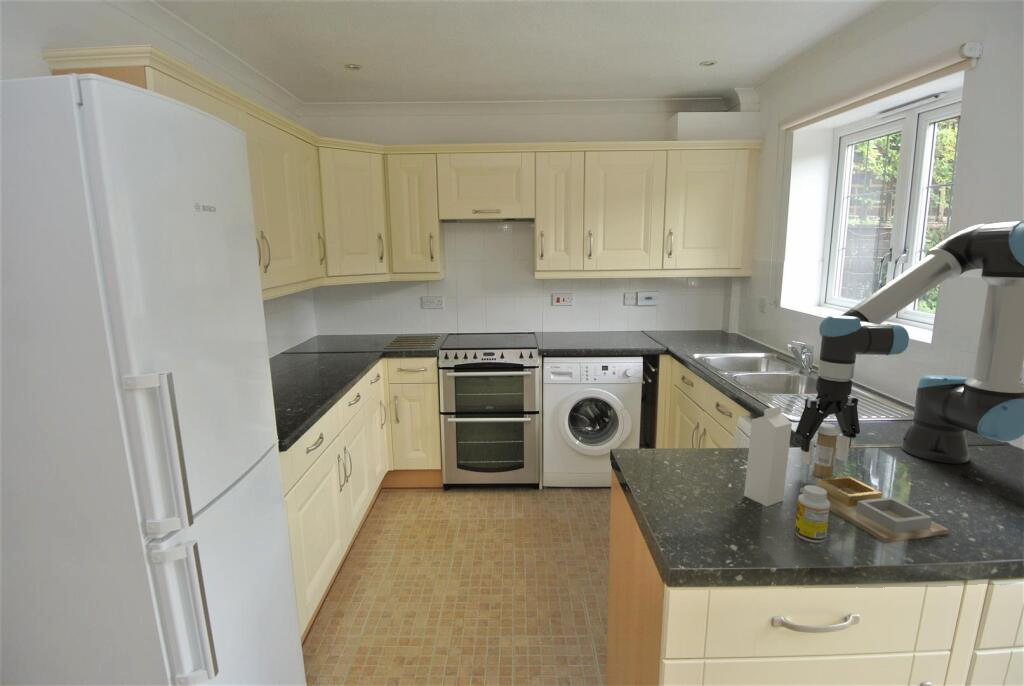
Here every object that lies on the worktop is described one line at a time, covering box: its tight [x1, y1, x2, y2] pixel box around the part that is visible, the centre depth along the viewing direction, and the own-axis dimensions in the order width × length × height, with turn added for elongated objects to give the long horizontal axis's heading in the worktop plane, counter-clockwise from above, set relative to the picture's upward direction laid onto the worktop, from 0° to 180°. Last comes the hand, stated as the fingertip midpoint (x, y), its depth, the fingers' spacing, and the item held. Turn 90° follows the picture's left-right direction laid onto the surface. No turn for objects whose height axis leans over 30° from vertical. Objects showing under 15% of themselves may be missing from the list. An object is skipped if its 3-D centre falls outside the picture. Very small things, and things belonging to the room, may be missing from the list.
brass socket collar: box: [816, 475, 884, 507], centre depth 118 cm, size 9×9×2 cm
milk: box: [743, 405, 793, 507], centre depth 117 cm, size 6×6×22 cm
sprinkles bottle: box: [812, 422, 840, 479], centre depth 131 cm, size 5×5×14 cm
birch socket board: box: [799, 487, 950, 543], centre depth 113 cm, size 16×22×1 cm
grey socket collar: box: [856, 496, 933, 533], centre depth 108 cm, size 9×9×2 cm
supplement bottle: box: [794, 484, 831, 544], centre depth 102 cm, size 6×6×10 cm
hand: (823, 461), depth 131 cm, fingers open, 10 cm apart
